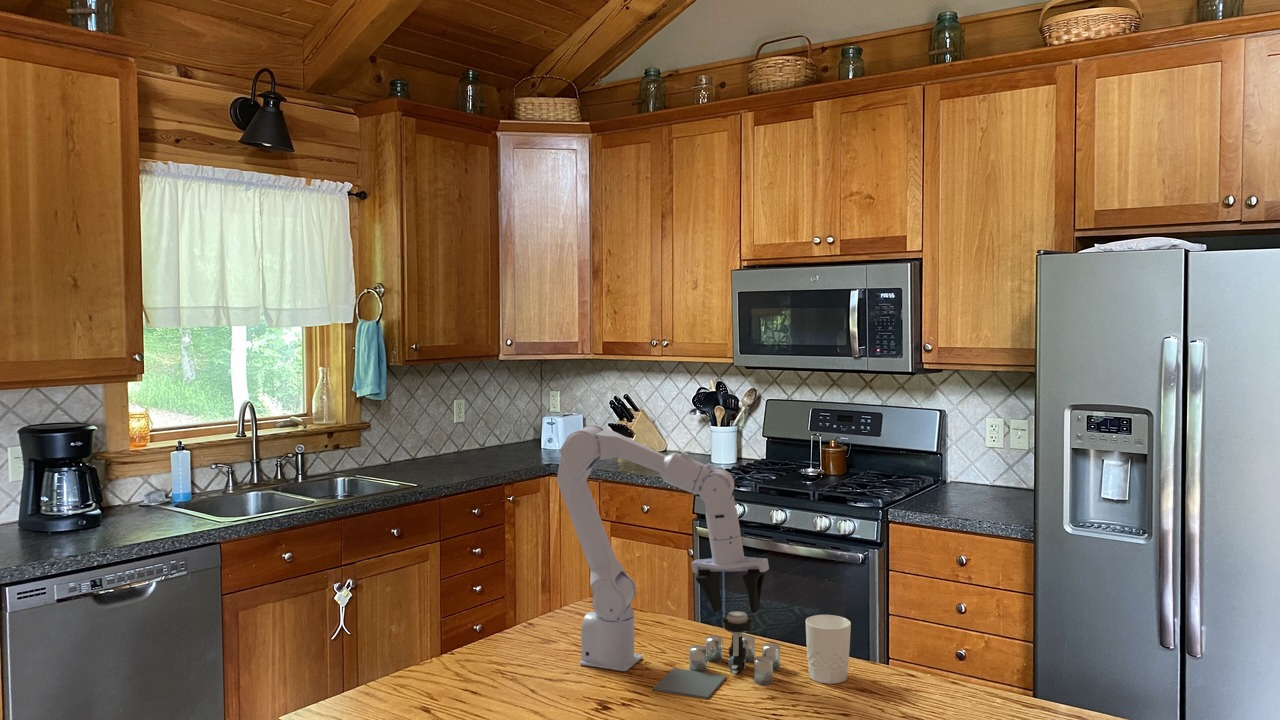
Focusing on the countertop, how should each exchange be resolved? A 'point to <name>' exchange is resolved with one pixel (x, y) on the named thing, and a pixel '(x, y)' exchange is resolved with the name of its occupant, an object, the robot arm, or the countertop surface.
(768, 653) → the spacer back right
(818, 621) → the white cup
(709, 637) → the cylinder
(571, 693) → the countertop surface
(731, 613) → the push button
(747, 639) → the cylinder
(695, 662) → the cylinder
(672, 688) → the mat
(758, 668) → the cylinder
